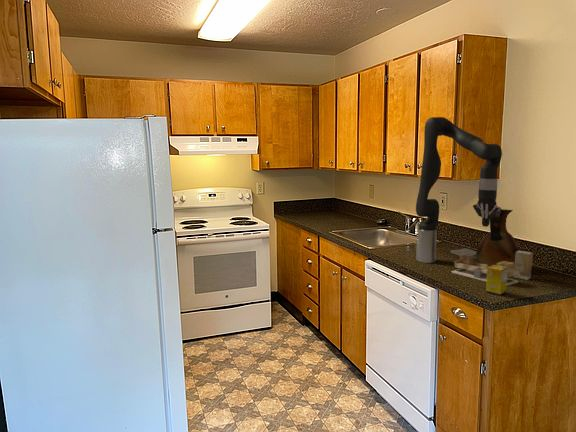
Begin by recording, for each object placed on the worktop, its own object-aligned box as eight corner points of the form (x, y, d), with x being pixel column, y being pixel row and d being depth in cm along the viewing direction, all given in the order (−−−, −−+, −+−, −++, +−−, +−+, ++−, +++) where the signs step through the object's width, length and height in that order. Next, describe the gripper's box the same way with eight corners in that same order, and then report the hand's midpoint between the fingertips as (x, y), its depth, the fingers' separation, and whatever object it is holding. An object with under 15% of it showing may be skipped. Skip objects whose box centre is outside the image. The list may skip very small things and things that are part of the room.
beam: (454, 266, 209) (454, 255, 209) (463, 264, 213) (463, 253, 212) (506, 277, 187) (506, 265, 187) (515, 275, 191) (515, 262, 191)
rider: (459, 264, 208) (459, 254, 208) (464, 263, 211) (464, 253, 210) (468, 266, 204) (468, 256, 204) (473, 265, 206) (473, 255, 206)
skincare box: (513, 277, 199) (514, 251, 197) (516, 275, 202) (518, 250, 200) (528, 280, 195) (530, 253, 193) (531, 278, 198) (533, 252, 196)
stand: (451, 272, 209) (451, 264, 208) (464, 269, 215) (464, 261, 214) (505, 286, 187) (505, 277, 186) (518, 282, 192) (518, 273, 192)
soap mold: (465, 252, 252) (466, 246, 252) (489, 260, 233) (489, 254, 233) (450, 253, 250) (450, 247, 249) (472, 261, 231) (473, 255, 230)
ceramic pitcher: (521, 265, 220) (525, 207, 215) (516, 275, 203) (520, 212, 199) (480, 260, 231) (483, 204, 226) (472, 269, 214) (475, 209, 210)
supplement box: (492, 289, 183) (493, 264, 181) (506, 292, 178) (508, 267, 177) (485, 292, 179) (486, 267, 177) (500, 296, 175) (501, 269, 173)
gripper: (469, 188, 199) (467, 225, 202) (496, 190, 188) (494, 229, 191) (479, 187, 203) (477, 223, 206) (506, 189, 192) (503, 227, 195)
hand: (485, 226), depth 198 cm, fingers closed
